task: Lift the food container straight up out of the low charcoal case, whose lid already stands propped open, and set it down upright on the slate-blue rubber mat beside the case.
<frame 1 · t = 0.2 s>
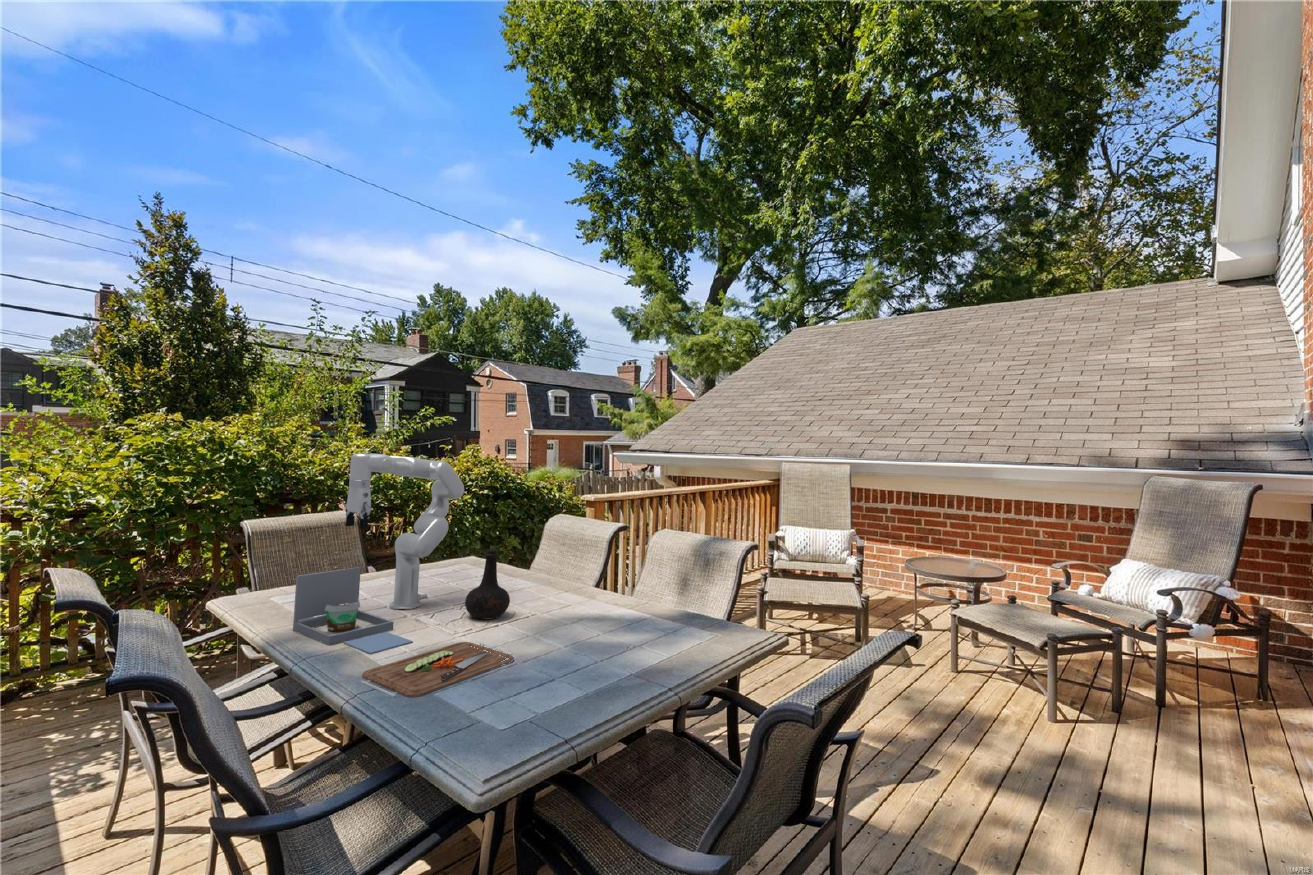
hand: (356, 527, 233), 36 cm above the table, tool pointing down, fingers open, 9 cm apart
chopping board: (442, 669, 187), on the table
glass bottle: (486, 617, 244), on the table
food container: (344, 630, 218), resting in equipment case
mat: (378, 643, 206), on the table
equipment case: (344, 630, 218), on the table
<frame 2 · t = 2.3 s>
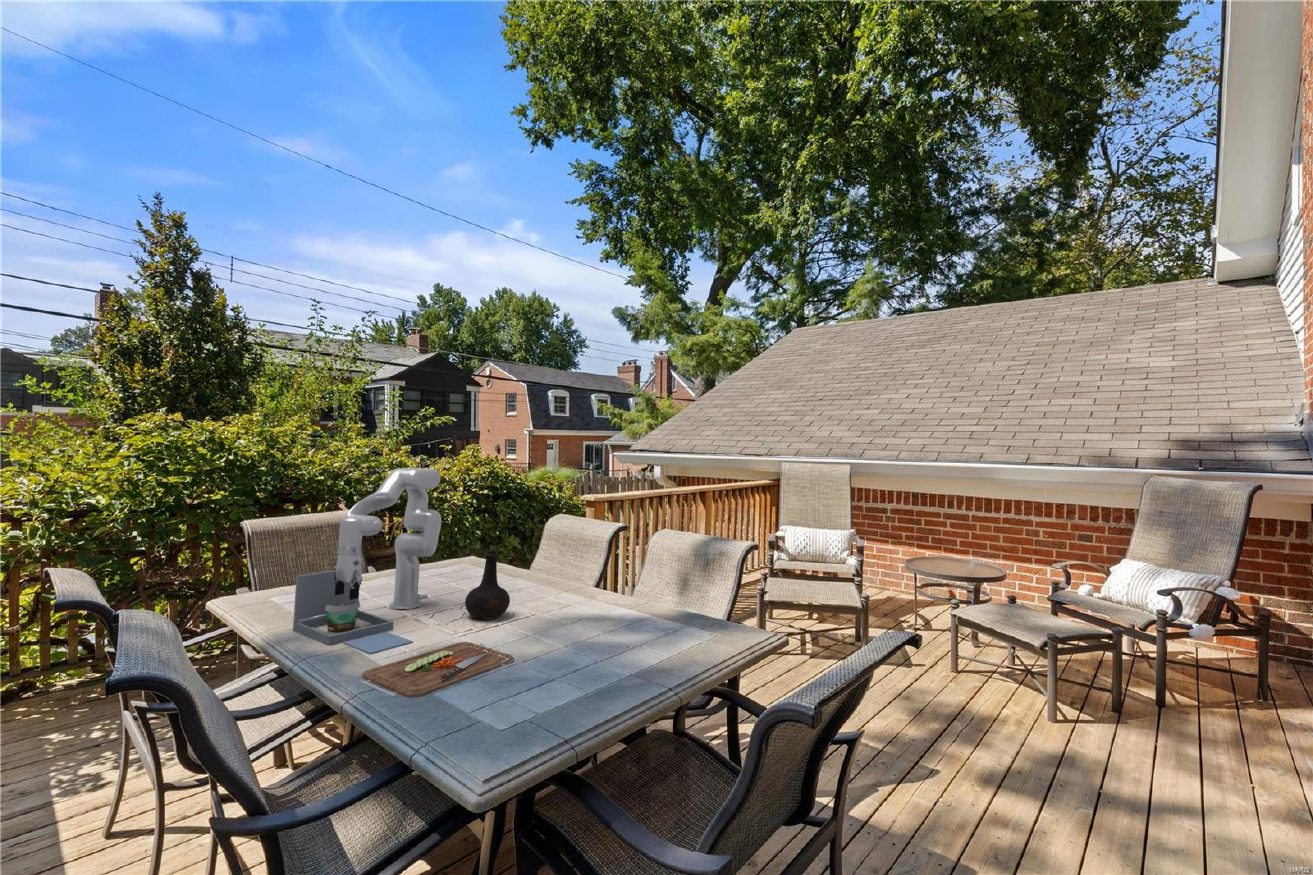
hand: (346, 596, 218), 12 cm above the table, tool pointing down, fingers open, 9 cm apart
nothing on the table moved.
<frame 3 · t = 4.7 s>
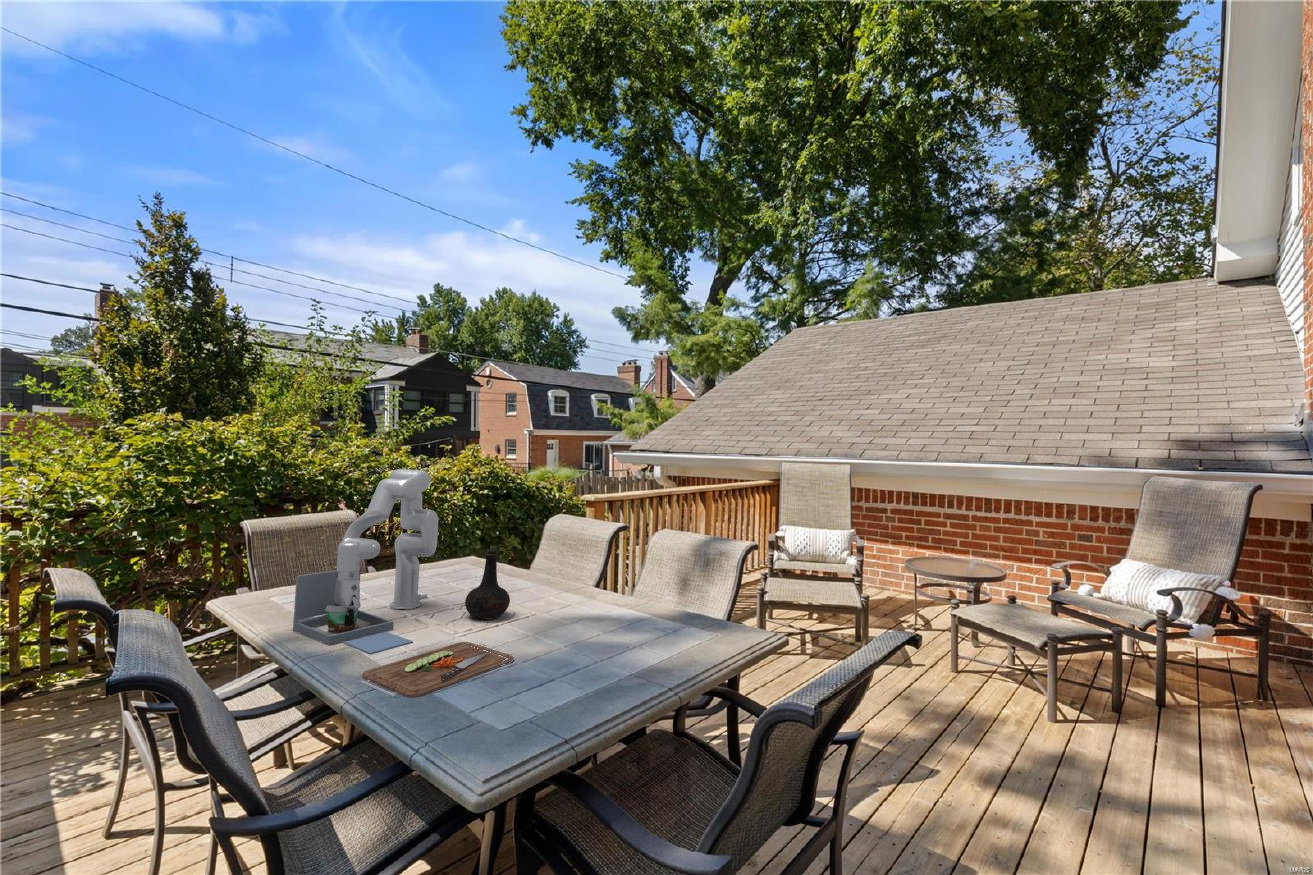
hand: (344, 623, 218), 3 cm above the table, tool pointing down, fingers closed on food container, 5 cm apart
food container: (345, 631, 218), resting in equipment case, touching gripper
everything else where it was.
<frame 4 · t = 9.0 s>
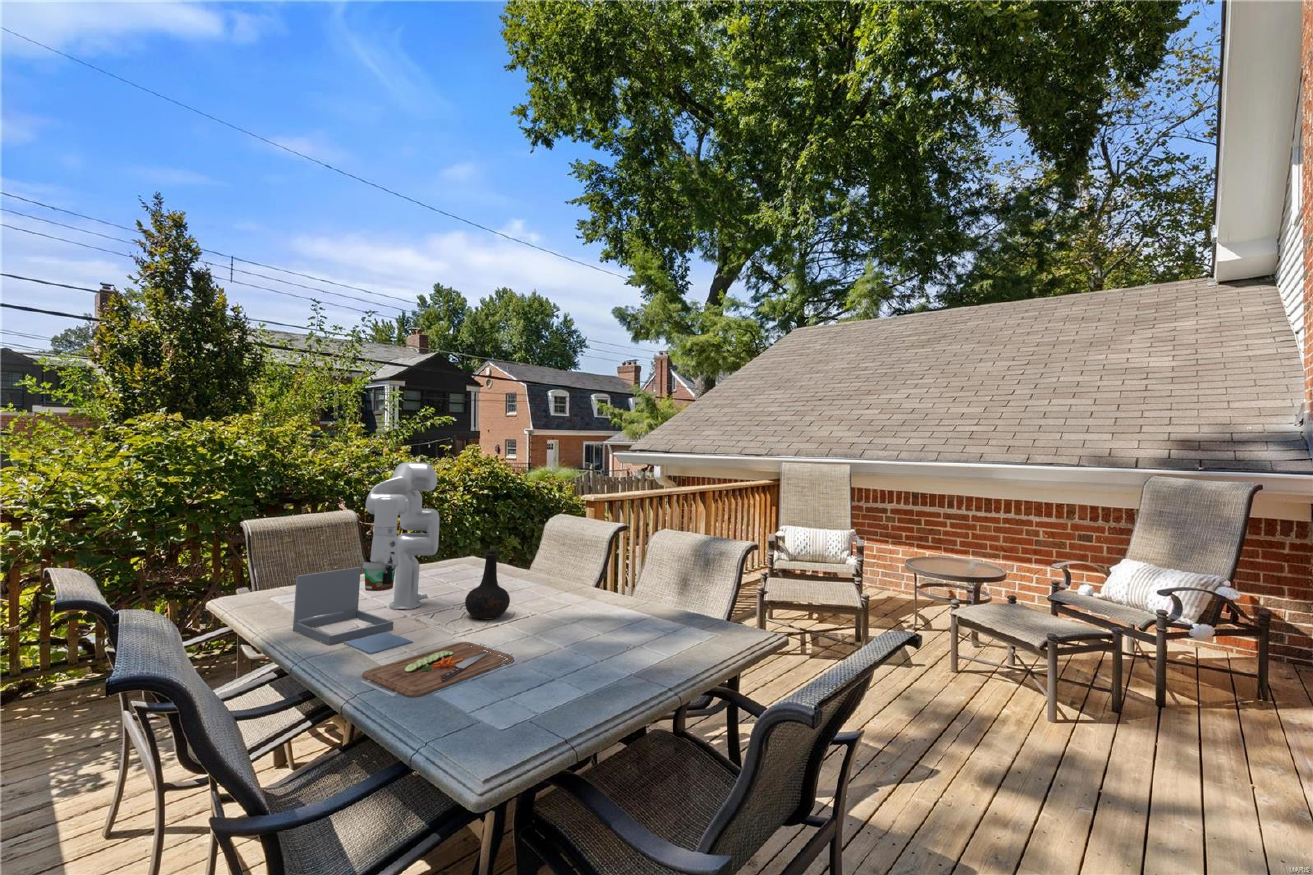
hand: (382, 582, 207), 21 cm above the table, tool pointing down, fingers closed on food container, 5 cm apart
food container: (382, 590, 206), point 19 cm above the table, touching gripper
everything else where it was.
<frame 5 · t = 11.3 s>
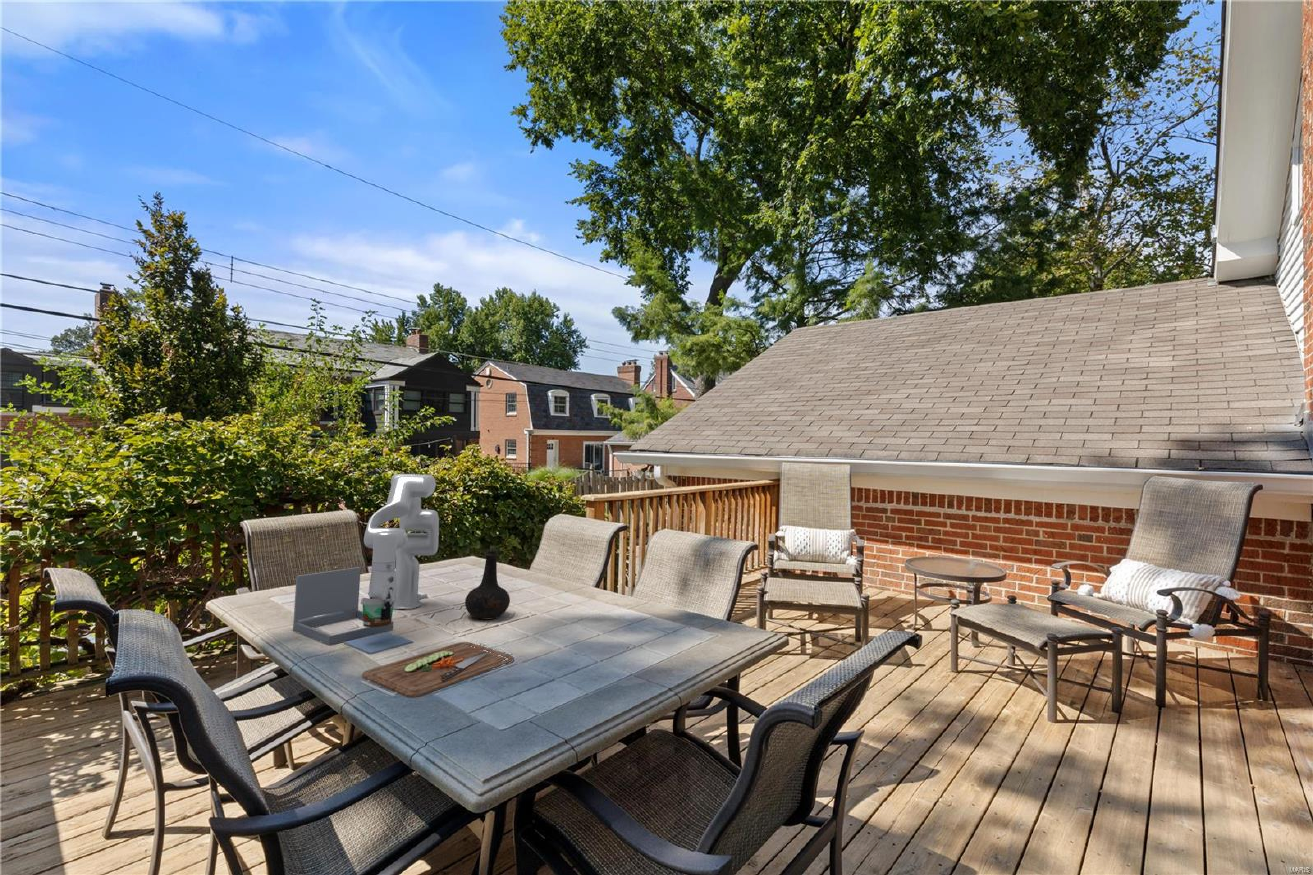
hand: (380, 617, 206), 9 cm above the table, tool pointing down, fingers closed on food container, 5 cm apart
food container: (381, 625, 206), point 6 cm above the table, touching gripper
everything else where it was.
when the fingers open (4 cm above the table, at t = 13.2 s): food container stays where it is, resting on mat.
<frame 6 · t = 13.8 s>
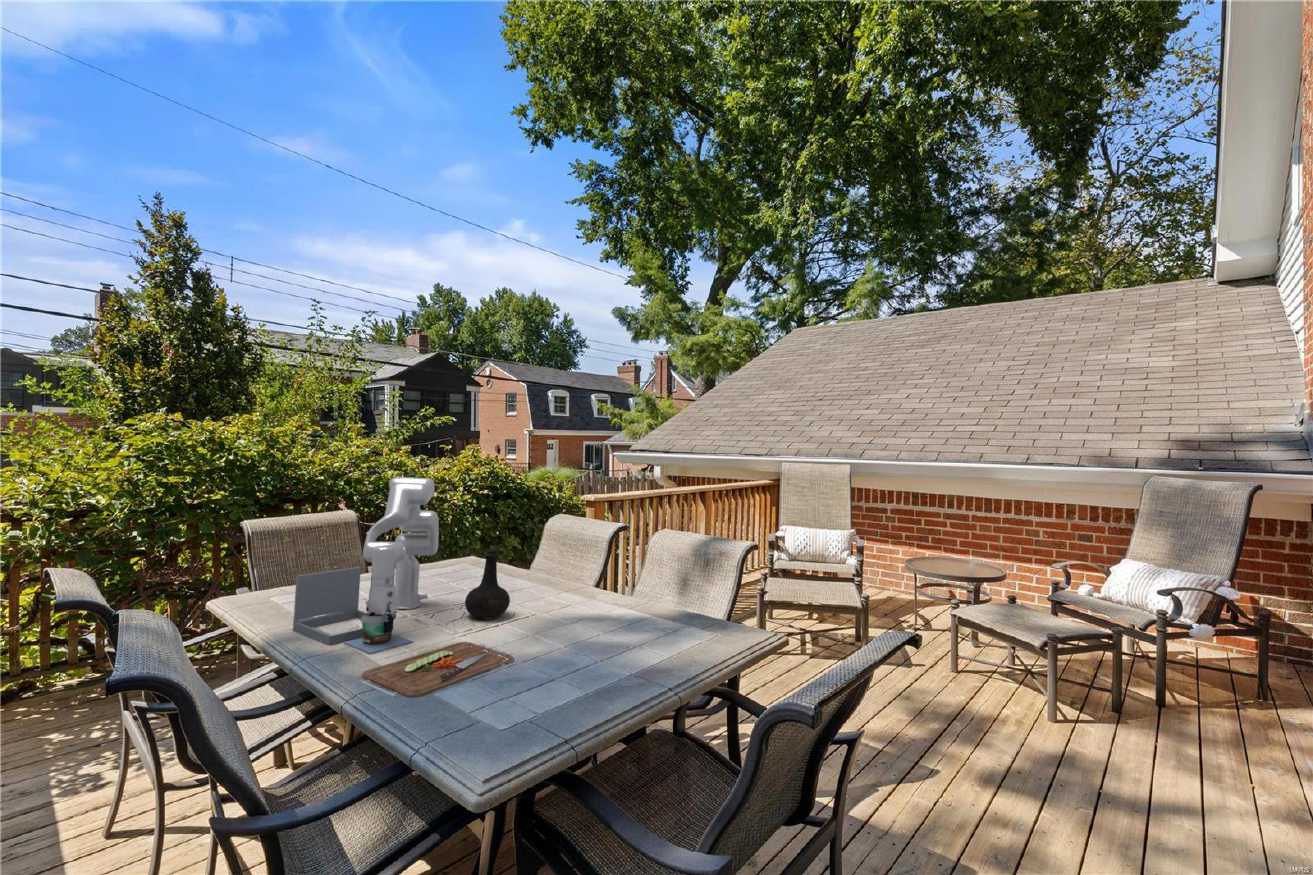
hand: (379, 629, 206), 5 cm above the table, tool pointing down, fingers open, 9 cm apart
food container: (380, 642, 206), resting on mat
everything else where it was.
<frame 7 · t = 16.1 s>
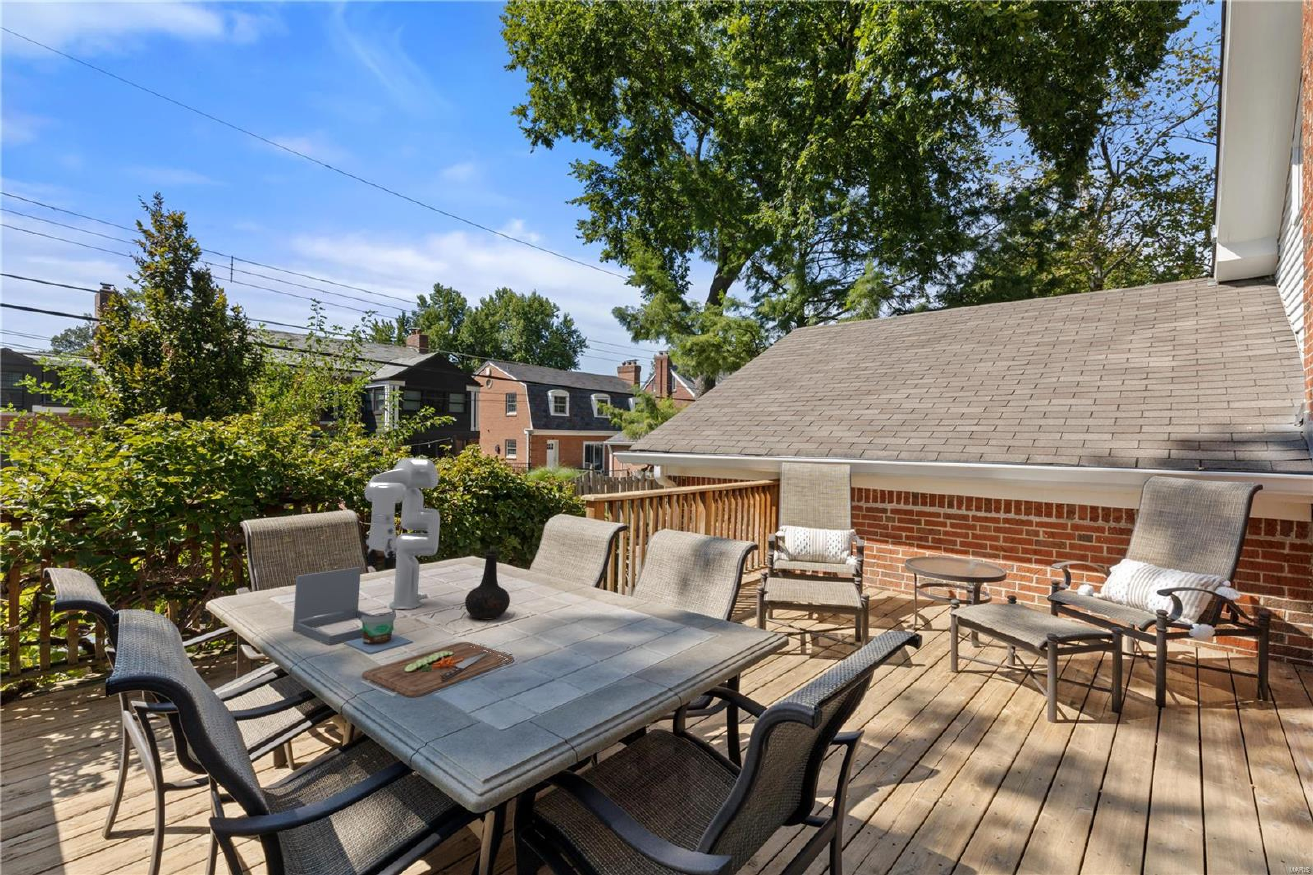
hand: (380, 566, 211), 26 cm above the table, tool pointing down, fingers open, 9 cm apart
nothing on the table moved.
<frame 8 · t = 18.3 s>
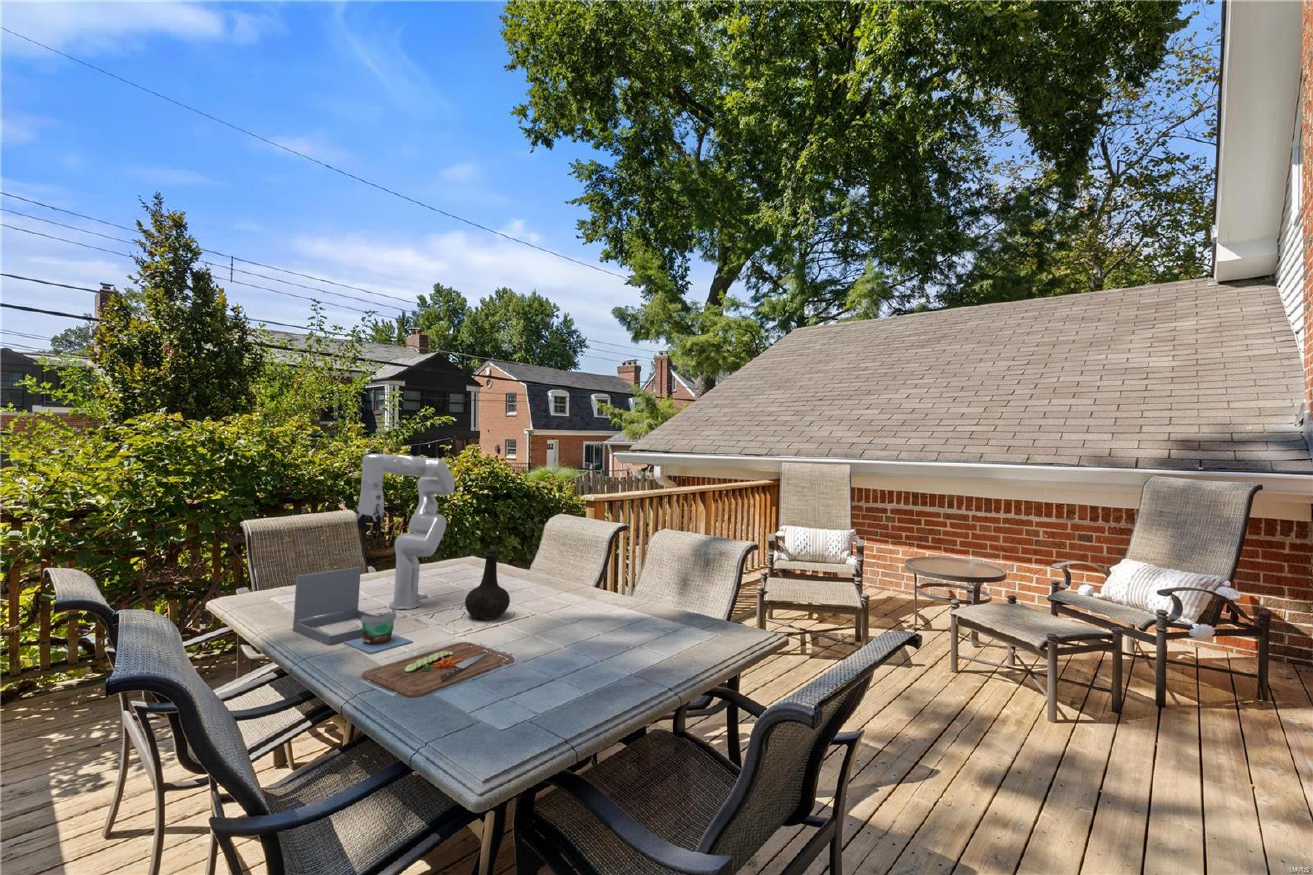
hand: (369, 529, 228), 36 cm above the table, tool pointing down, fingers open, 9 cm apart
nothing on the table moved.
at the end: food container inside the target area on the mat (1.0 cm from its centre), point 0.3 cm above the mat's base; food container tilted 0°; the gripper is holding nothing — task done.
